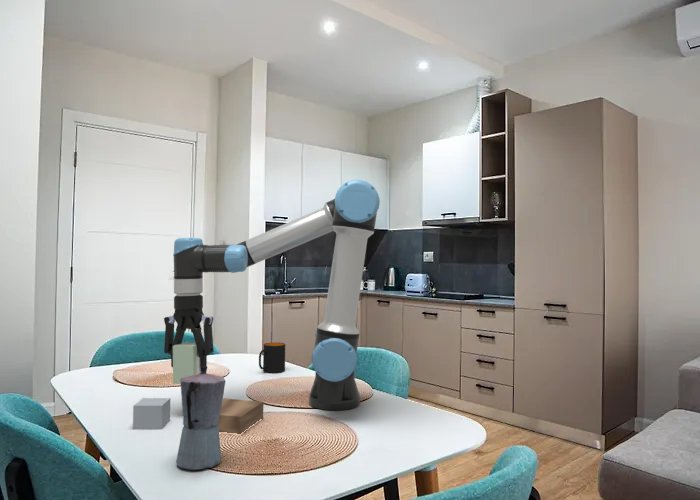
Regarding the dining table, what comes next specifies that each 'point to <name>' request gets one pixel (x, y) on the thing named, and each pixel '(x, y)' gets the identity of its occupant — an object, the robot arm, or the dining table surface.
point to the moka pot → (200, 420)
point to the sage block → (184, 360)
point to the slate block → (151, 413)
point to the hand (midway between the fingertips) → (189, 379)
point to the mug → (273, 358)
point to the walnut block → (239, 415)
